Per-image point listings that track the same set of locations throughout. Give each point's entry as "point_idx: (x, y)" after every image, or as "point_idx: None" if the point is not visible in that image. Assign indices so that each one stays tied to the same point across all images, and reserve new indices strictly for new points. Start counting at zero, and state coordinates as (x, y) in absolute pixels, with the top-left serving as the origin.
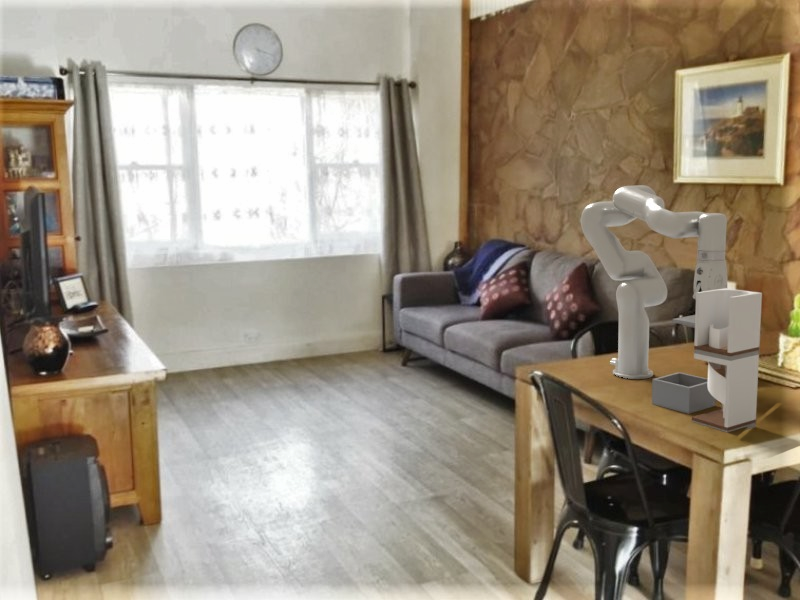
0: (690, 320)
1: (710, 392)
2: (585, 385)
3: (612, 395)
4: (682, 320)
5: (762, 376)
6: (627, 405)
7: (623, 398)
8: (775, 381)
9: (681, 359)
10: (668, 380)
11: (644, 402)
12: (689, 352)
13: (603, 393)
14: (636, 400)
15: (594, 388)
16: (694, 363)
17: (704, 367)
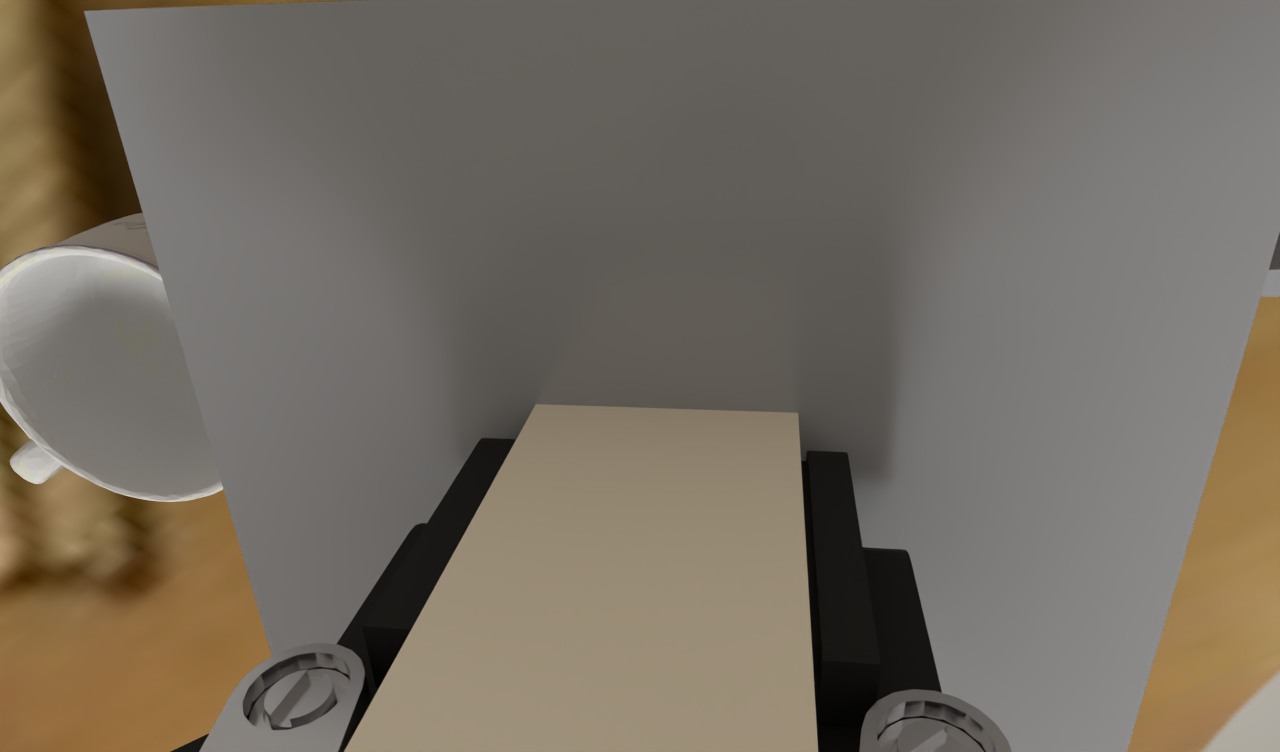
0: (999, 667)
1: None
2: (1132, 748)
3: (1244, 544)
4: (1101, 747)
5: (24, 211)
6: None
7: (1269, 462)
8: (26, 71)
9: (208, 706)
10: (1273, 254)
11: (1273, 317)
12: (70, 748)
13: (1237, 601)
14: (1258, 381)
15: (1159, 688)
16: (203, 626)
17: (213, 550)
